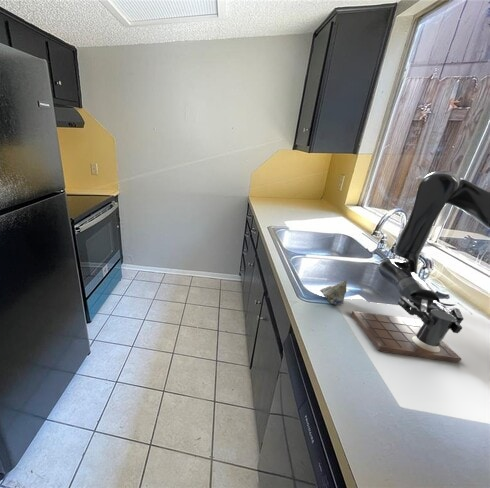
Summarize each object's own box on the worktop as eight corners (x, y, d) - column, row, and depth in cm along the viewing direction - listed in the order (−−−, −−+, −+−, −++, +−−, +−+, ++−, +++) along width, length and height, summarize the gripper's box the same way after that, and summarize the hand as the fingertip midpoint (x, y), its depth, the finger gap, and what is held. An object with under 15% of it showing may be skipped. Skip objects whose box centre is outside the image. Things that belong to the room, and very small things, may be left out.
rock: (319, 286, 100) (346, 276, 93) (328, 299, 99) (356, 290, 93) (314, 300, 91) (344, 290, 85) (325, 314, 91) (355, 305, 84)
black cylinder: (430, 335, 75) (445, 310, 71) (443, 347, 71) (460, 322, 67) (412, 332, 76) (426, 308, 72) (424, 345, 71) (439, 319, 68)
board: (416, 323, 84) (419, 319, 84) (458, 362, 70) (461, 358, 69) (350, 314, 87) (352, 310, 86) (378, 350, 73) (380, 346, 72)
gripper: (393, 277, 83) (417, 308, 69) (451, 289, 78) (489, 324, 64) (384, 296, 86) (405, 329, 72) (439, 308, 81) (472, 346, 67)
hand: (444, 327), depth 68 cm, fingers closed on black cylinder, 5 cm apart
